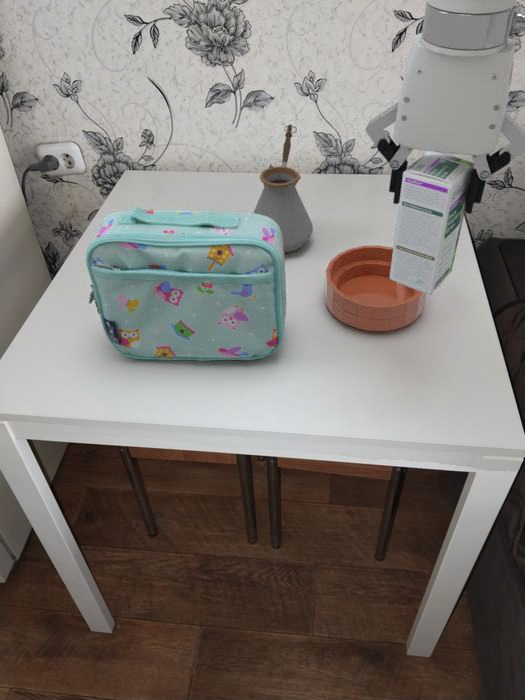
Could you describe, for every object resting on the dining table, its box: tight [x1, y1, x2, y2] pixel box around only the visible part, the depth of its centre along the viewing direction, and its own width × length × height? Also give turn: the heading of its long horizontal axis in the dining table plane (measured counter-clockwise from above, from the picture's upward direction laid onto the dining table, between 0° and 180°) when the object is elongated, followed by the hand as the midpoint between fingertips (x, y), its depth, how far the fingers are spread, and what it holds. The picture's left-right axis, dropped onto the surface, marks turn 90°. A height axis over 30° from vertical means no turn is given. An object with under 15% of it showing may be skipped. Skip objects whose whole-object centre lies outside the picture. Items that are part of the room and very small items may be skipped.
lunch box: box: [85, 206, 287, 362], centre depth 80 cm, size 27×10×21 cm, turn 87°
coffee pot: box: [253, 123, 314, 254], centre depth 104 cm, size 21×12×15 cm, turn 171°
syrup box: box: [390, 151, 475, 296], centre depth 67 cm, size 6×6×14 cm
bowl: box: [324, 245, 427, 332], centre depth 91 cm, size 15×15×6 cm
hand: (433, 201), depth 65 cm, fingers closed on syrup box, 7 cm apart
